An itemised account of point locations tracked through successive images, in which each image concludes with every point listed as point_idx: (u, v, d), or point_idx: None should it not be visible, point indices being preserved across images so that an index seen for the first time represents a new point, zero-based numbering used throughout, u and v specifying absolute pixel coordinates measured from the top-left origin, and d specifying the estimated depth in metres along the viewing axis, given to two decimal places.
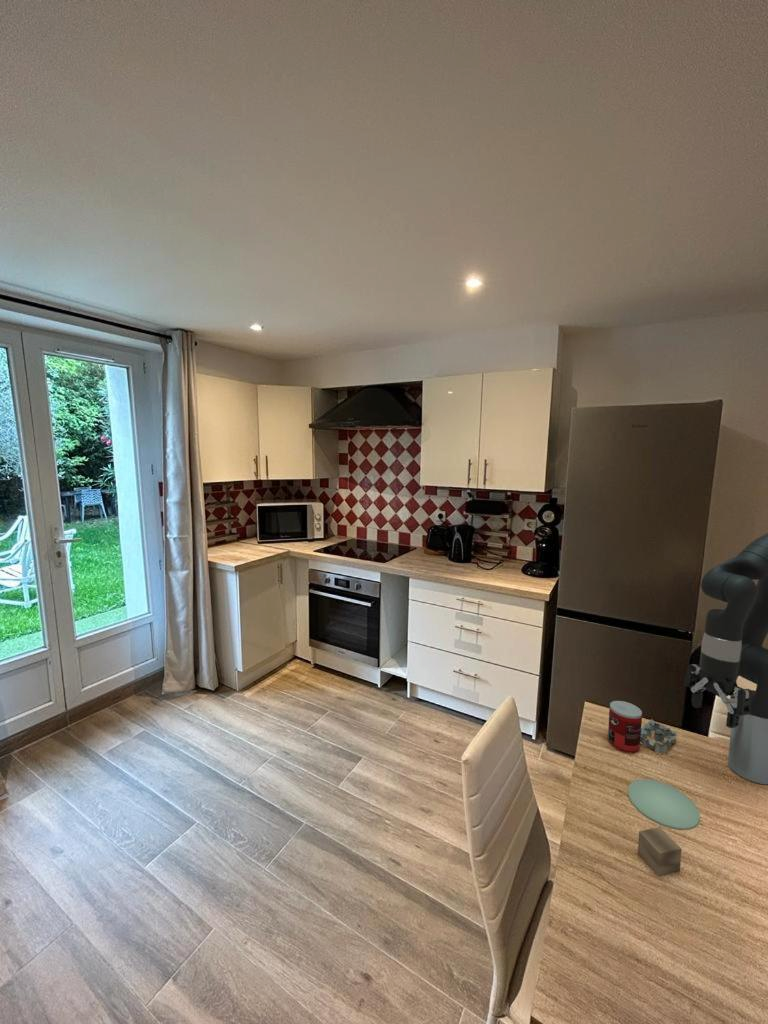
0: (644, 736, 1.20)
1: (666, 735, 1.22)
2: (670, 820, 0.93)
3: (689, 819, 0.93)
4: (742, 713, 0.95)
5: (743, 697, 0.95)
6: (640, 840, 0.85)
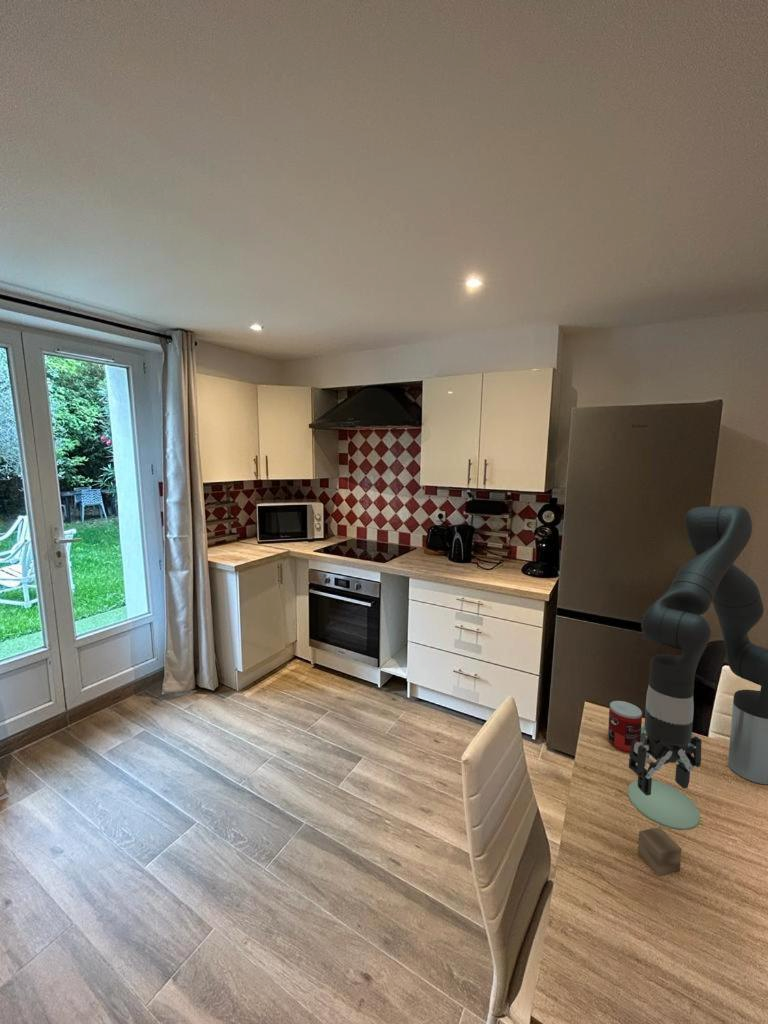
0: (643, 735, 1.20)
1: None
2: (670, 820, 0.93)
3: (689, 819, 0.93)
4: None
5: None
6: (640, 840, 0.85)
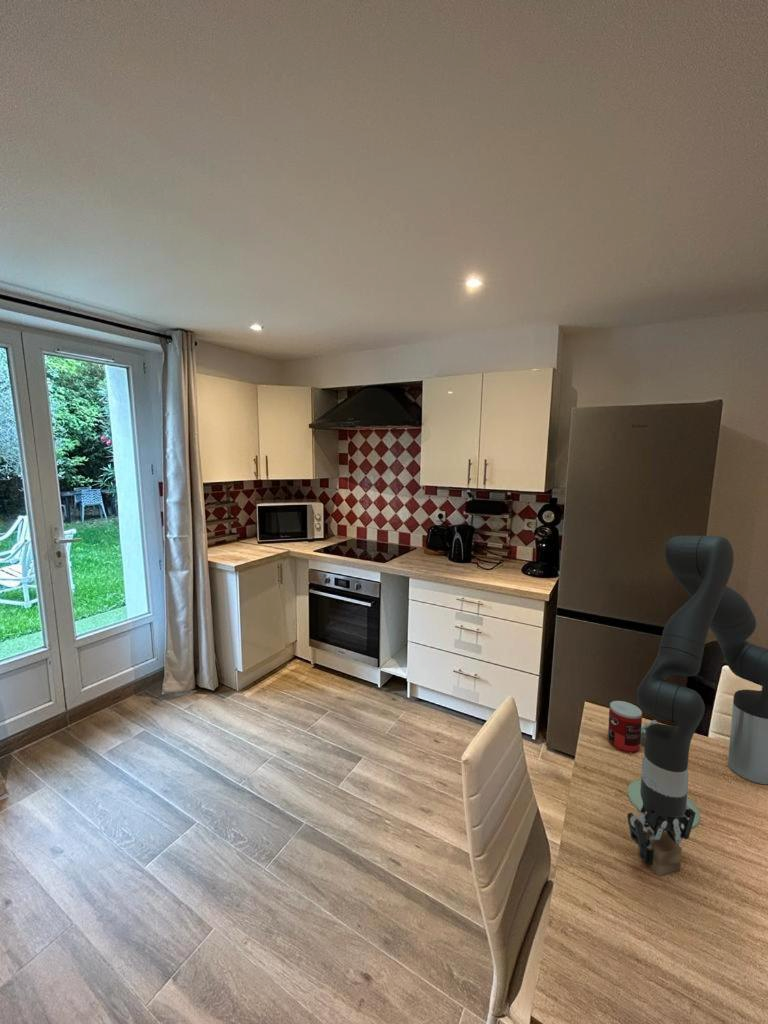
0: (643, 735, 1.21)
1: None
2: None
3: None
4: None
5: None
6: None
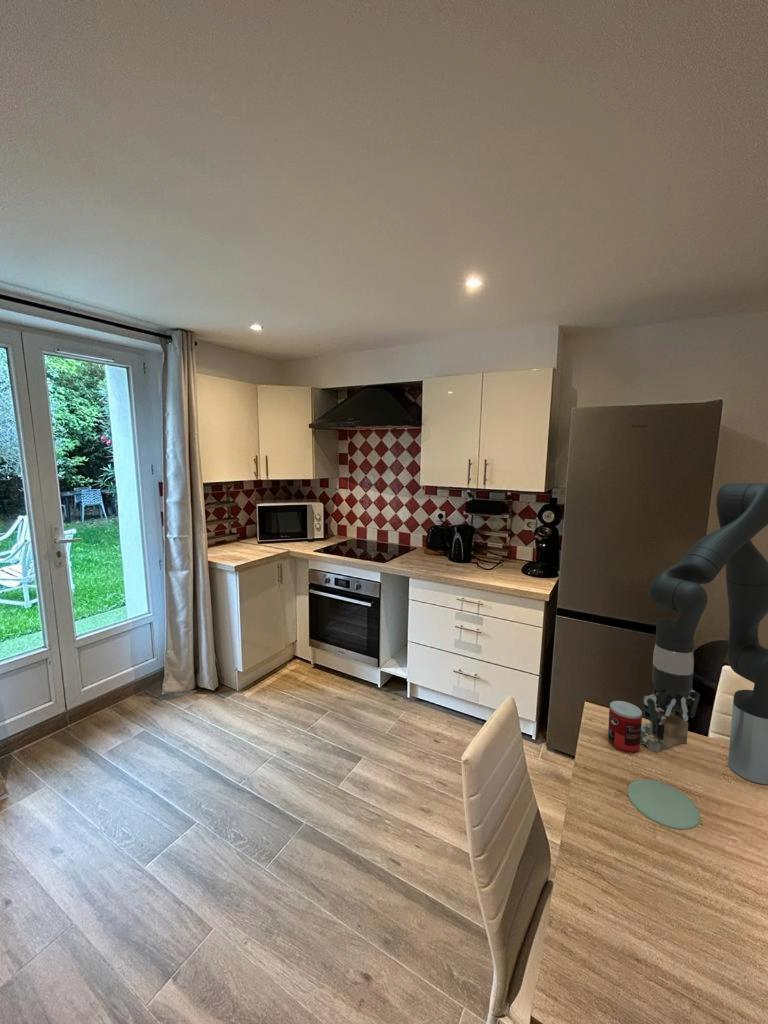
0: (642, 733, 1.21)
1: None
2: (670, 820, 0.93)
3: (689, 819, 0.93)
4: None
5: None
6: None
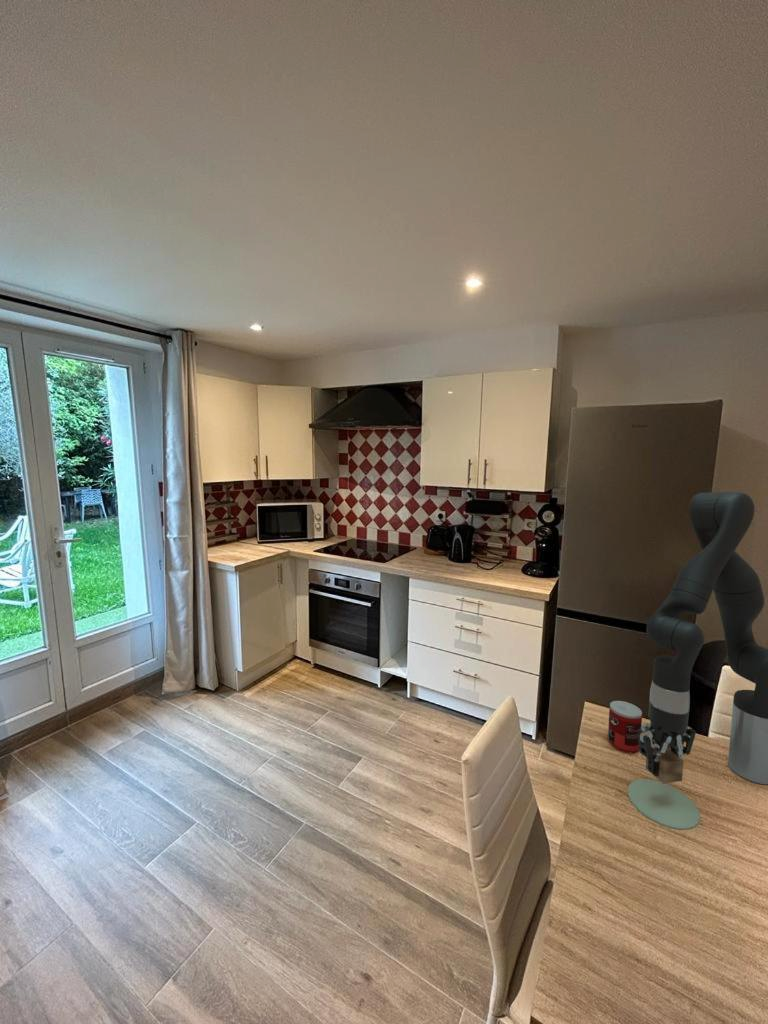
0: None
1: None
2: (670, 820, 0.93)
3: (689, 819, 0.93)
4: None
5: None
6: None
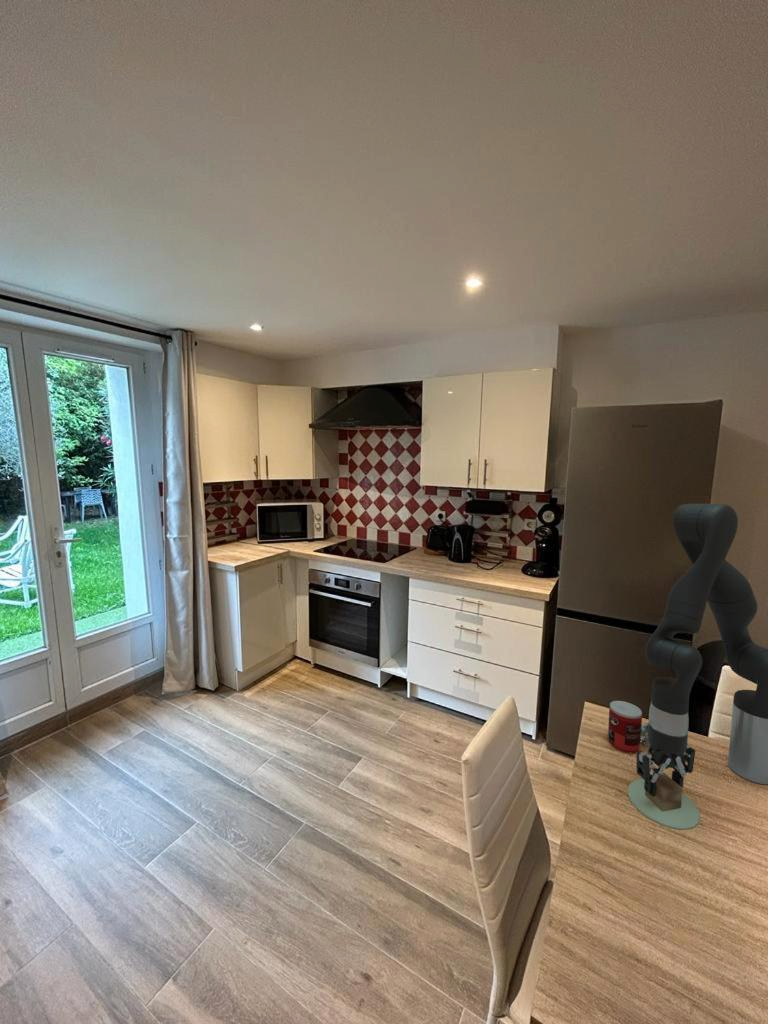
0: (641, 732, 1.22)
1: None
2: (670, 820, 0.93)
3: (689, 819, 0.93)
4: None
5: None
6: None
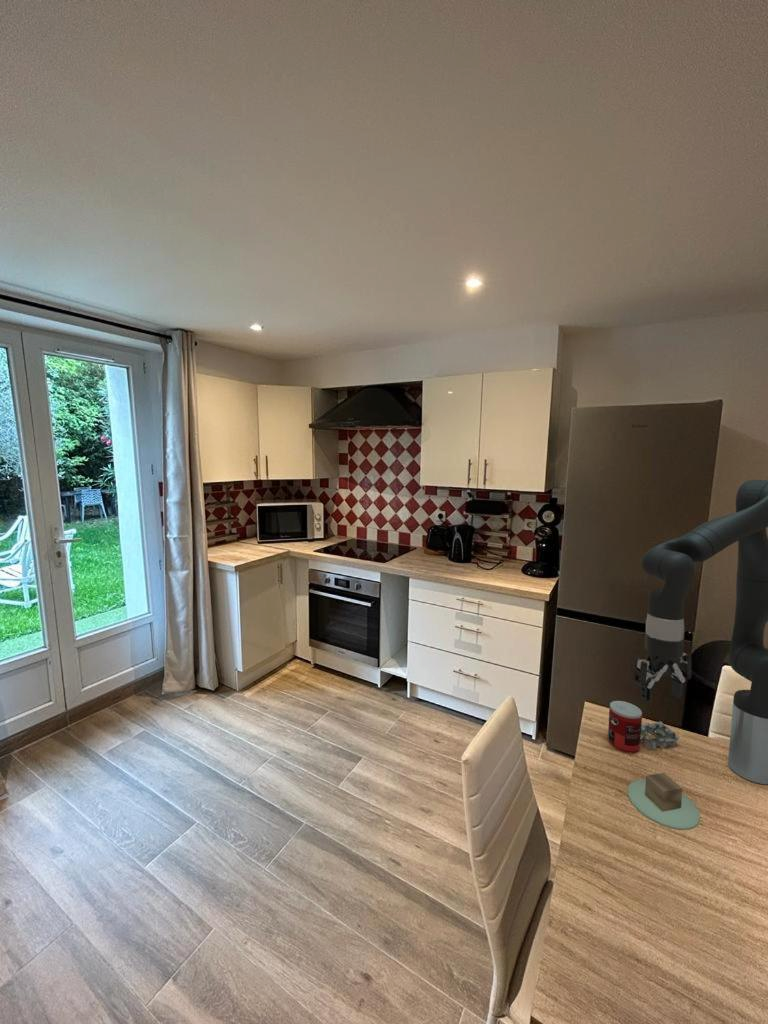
0: (641, 731, 1.22)
1: (671, 739, 1.20)
2: (670, 820, 0.93)
3: (689, 819, 0.93)
4: None
5: None
6: (647, 783, 0.99)
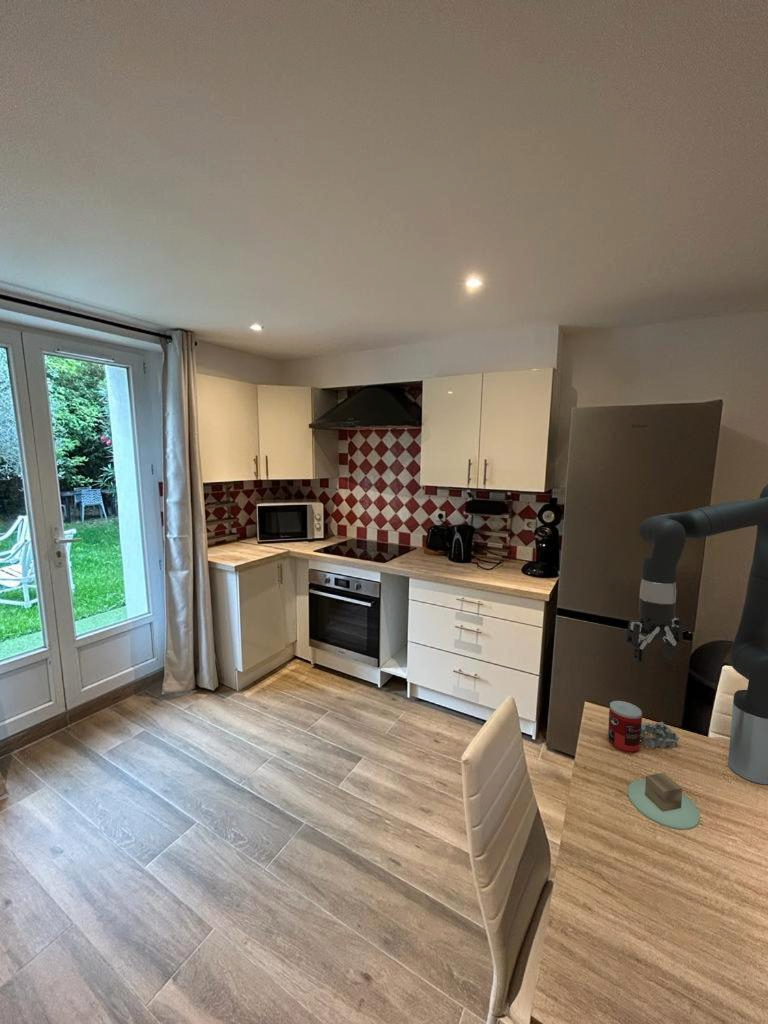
0: (641, 731, 1.22)
1: (671, 739, 1.20)
2: (670, 820, 0.93)
3: (689, 819, 0.93)
4: None
5: None
6: (647, 783, 0.99)
